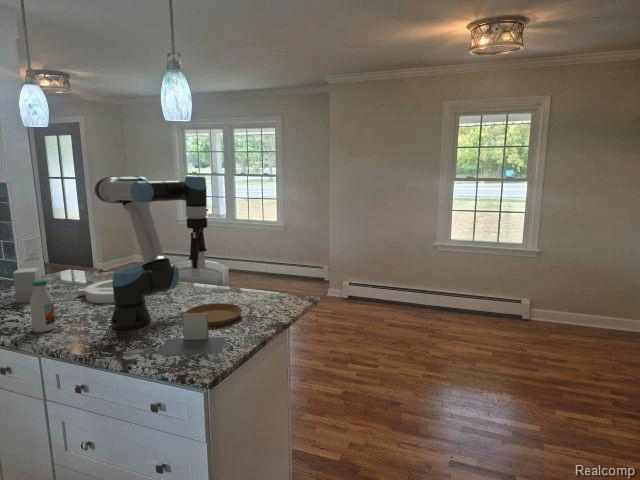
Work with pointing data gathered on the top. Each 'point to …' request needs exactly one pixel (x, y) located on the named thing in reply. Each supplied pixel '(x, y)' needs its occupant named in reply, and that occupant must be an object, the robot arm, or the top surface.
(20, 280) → the supplement box
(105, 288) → the ring with crossbar
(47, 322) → the milk bottle
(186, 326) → the tile
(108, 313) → the top surface
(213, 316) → the plant saucer
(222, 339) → the mat
